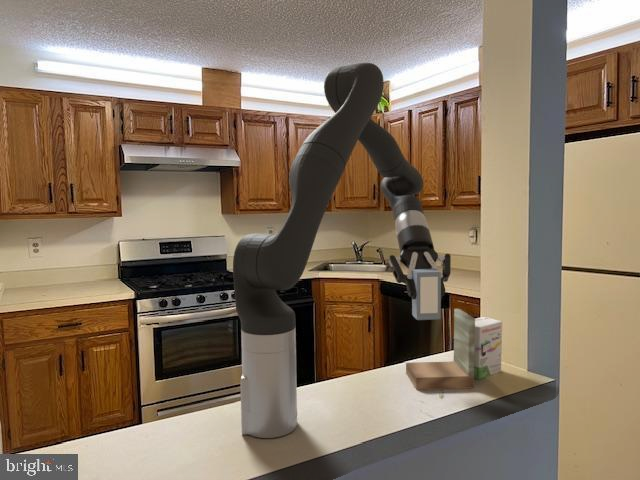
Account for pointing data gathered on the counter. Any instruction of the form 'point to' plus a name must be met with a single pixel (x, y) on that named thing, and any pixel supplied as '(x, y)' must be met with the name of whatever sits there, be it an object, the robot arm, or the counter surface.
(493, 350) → the ink box
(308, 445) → the counter surface
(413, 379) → the bookend
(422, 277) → the grey block
